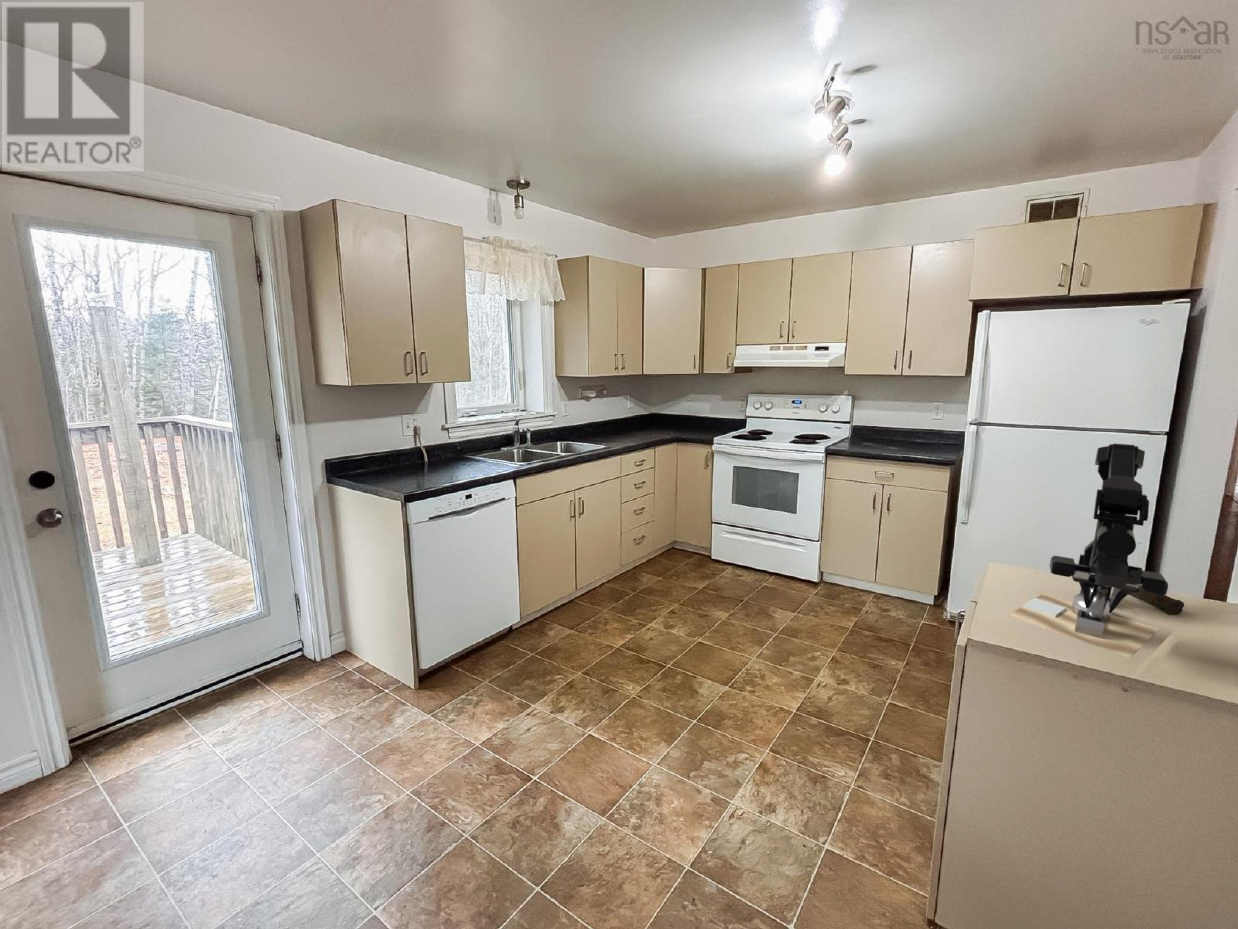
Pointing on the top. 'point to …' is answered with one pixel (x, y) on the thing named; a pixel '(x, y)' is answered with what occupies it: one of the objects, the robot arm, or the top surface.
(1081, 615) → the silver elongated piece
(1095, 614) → the metal cylinder
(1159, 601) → the hand tool
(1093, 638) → the board
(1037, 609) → the coaster
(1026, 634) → the top surface
